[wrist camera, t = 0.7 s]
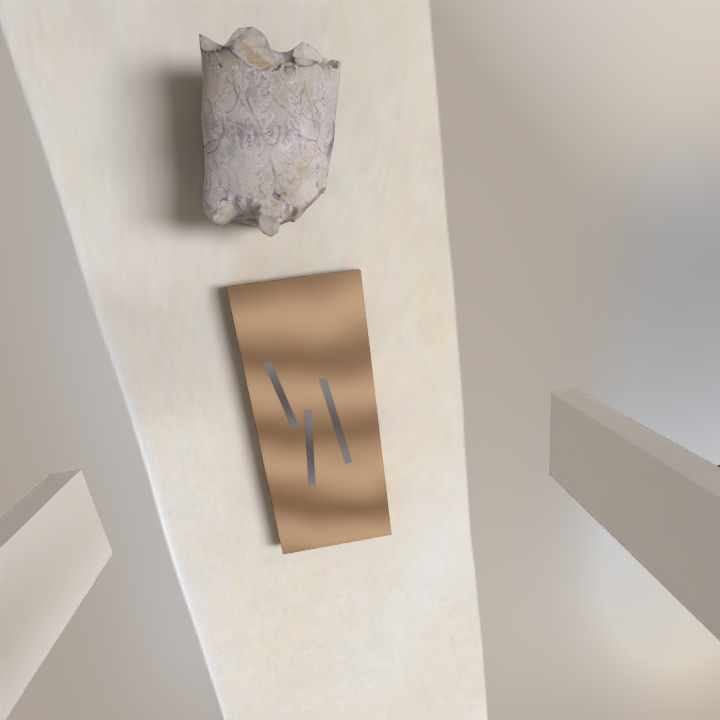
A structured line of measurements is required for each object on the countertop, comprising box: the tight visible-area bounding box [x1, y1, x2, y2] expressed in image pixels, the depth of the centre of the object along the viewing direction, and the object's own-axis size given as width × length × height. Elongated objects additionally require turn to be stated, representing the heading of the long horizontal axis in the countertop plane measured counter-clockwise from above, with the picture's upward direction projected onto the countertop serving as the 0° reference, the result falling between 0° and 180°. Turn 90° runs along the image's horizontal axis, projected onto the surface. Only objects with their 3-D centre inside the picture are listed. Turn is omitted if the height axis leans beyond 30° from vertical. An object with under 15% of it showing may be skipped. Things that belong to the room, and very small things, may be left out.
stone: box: [199, 27, 341, 237], centre depth 25 cm, size 8×12×7 cm, turn 173°
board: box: [227, 269, 391, 554], centre depth 34 cm, size 24×10×2 cm, turn 7°
